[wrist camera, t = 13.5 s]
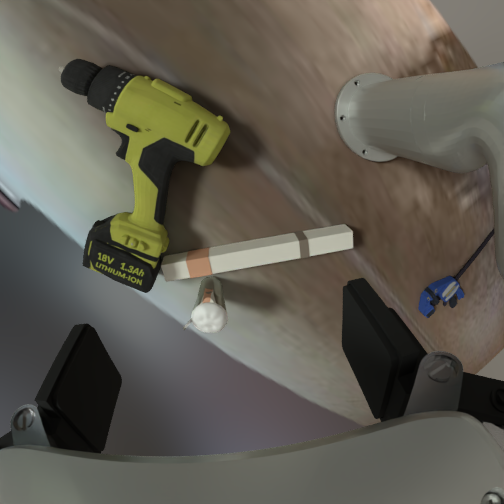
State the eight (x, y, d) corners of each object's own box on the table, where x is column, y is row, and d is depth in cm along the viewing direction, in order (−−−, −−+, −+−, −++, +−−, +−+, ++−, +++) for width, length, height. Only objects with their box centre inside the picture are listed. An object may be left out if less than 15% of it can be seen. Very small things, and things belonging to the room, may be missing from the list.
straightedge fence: (344, 223, 42) (353, 231, 39) (345, 240, 43) (353, 248, 40) (164, 255, 41) (160, 265, 39) (169, 271, 42) (165, 282, 40)
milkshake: (188, 273, 43) (180, 313, 34) (225, 271, 43) (226, 311, 34) (192, 299, 45) (186, 343, 36) (227, 297, 45) (229, 341, 36)
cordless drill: (21, 206, 36) (83, 48, 28) (155, 276, 43) (240, 122, 36) (-4, 221, 29) (60, 38, 22) (146, 303, 37) (246, 122, 29)
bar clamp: (435, 331, 51) (418, 307, 47) (429, 324, 53) (411, 300, 50) (523, 220, 44) (513, 187, 41) (516, 217, 46) (505, 184, 43)
